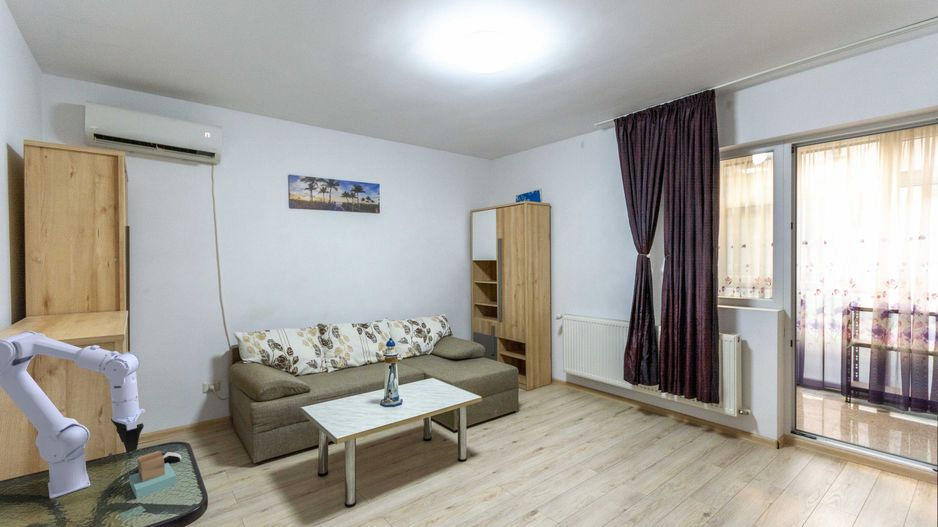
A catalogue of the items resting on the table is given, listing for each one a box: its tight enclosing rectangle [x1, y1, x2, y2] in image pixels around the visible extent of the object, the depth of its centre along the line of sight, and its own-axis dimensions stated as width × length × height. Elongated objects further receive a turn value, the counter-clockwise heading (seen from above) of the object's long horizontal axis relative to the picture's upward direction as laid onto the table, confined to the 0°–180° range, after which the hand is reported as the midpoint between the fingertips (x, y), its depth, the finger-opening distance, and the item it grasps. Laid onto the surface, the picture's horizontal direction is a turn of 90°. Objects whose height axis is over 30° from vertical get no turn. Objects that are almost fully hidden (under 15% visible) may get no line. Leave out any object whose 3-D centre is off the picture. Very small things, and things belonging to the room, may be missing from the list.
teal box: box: [128, 462, 178, 500], centre depth 119 cm, size 9×9×3 cm
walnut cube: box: [137, 450, 165, 482], centre depth 119 cm, size 5×5×5 cm
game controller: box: [161, 451, 183, 463], centre depth 128 cm, size 10×5×6 cm
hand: (129, 445), depth 120 cm, fingers open, 7 cm apart
